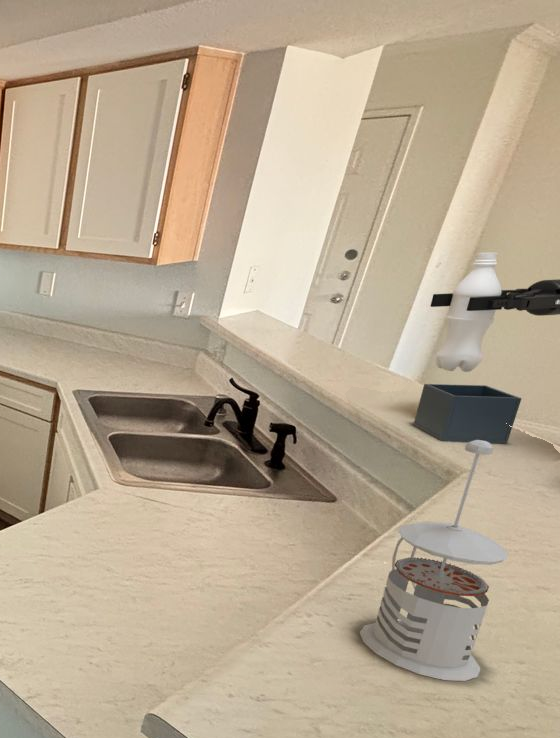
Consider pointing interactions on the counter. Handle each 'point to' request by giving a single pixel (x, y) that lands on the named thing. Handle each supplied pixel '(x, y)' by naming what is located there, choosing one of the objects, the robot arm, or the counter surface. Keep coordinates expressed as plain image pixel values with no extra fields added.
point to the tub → (466, 413)
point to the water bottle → (469, 316)
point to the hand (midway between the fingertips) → (451, 302)
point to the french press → (435, 597)
